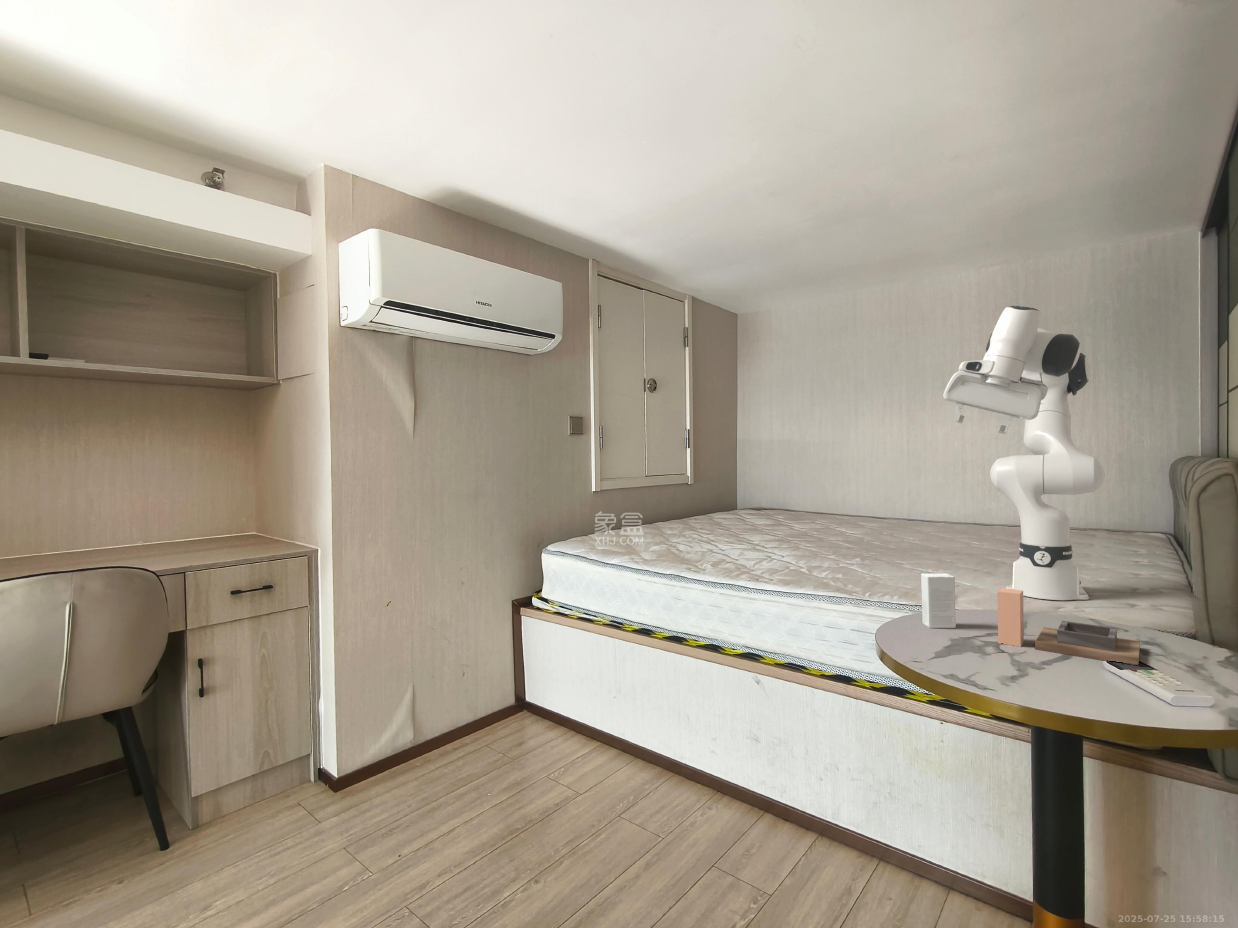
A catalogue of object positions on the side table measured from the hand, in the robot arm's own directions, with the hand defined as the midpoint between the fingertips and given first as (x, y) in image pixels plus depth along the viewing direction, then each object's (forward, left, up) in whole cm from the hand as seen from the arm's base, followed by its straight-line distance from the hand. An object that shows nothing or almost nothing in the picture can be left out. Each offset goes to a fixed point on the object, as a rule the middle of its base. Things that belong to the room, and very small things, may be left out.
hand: (980, 427), depth 145 cm
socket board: (+13, +21, -46) cm, 52 cm away
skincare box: (+13, -6, -46) cm, 49 cm away
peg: (+17, +9, -46) cm, 50 cm away
